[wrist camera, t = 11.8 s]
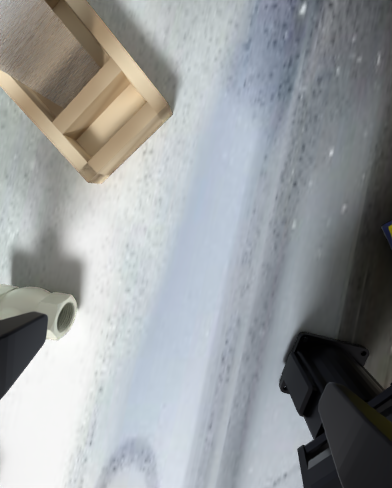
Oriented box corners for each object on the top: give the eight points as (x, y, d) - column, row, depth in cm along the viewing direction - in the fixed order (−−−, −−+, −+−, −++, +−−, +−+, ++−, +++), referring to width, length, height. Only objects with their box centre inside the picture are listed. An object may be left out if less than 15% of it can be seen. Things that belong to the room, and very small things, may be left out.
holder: (172, 114, 17) (168, 103, 15) (101, 183, 19) (87, 182, 17) (64, -22, 16) (42, -55, 14) (-6, 65, 17) (-36, 46, 15)
